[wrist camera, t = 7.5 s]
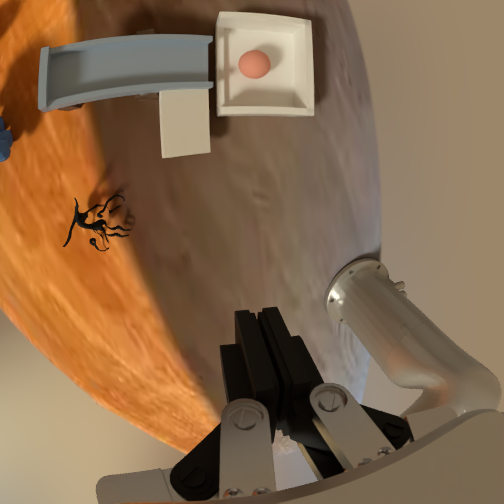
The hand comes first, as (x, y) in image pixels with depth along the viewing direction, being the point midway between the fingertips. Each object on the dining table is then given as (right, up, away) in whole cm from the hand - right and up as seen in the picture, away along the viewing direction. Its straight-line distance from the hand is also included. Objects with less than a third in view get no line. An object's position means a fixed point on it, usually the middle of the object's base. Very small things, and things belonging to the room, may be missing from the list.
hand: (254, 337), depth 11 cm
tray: (+1, +25, +16) cm, 29 cm away
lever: (-13, +18, +11) cm, 25 cm away
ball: (0, +24, +14) cm, 27 cm away
